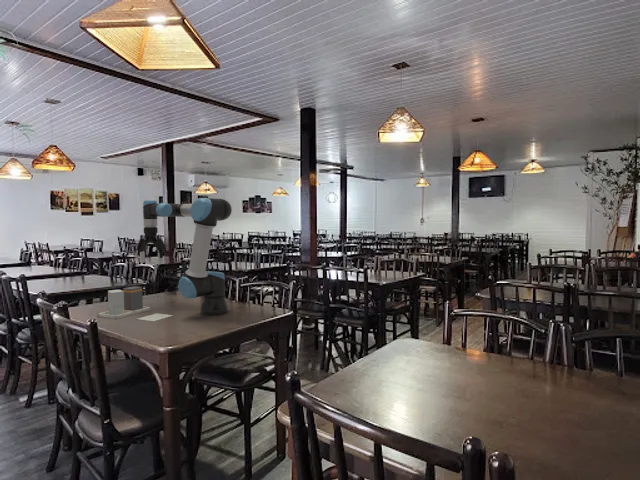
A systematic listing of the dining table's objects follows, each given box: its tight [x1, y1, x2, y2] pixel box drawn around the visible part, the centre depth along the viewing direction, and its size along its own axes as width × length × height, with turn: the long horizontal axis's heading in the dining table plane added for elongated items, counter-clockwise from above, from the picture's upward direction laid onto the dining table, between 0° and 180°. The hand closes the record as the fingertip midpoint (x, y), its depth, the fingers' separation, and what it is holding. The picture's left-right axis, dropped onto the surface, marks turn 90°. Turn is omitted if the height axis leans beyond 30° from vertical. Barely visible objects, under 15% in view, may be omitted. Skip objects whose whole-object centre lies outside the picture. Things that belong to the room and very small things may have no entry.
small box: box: [107, 289, 124, 315], centre depth 228 cm, size 8×6×13 cm
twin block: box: [122, 285, 144, 311], centre depth 239 cm, size 6×8×13 cm
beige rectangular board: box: [96, 305, 152, 320], centre depth 234 cm, size 14×24×2 cm, turn 157°
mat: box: [136, 313, 174, 322], centre depth 224 cm, size 12×14×1 cm
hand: (151, 263), depth 245 cm, fingers open, 13 cm apart
